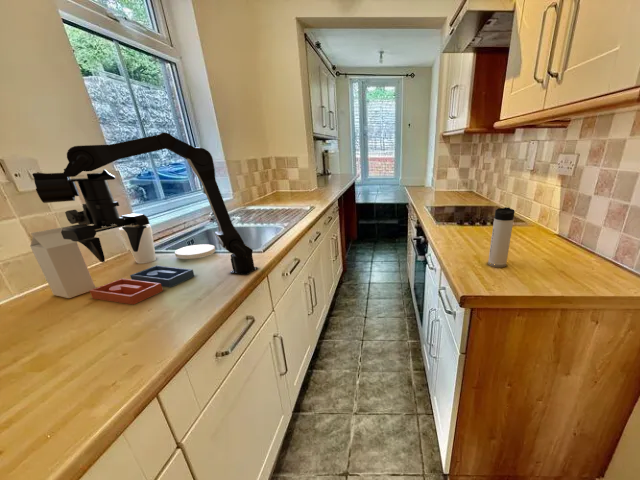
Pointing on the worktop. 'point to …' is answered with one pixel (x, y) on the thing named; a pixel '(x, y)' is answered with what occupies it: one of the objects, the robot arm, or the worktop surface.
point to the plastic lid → (195, 251)
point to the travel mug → (501, 237)
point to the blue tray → (182, 276)
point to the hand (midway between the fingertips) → (120, 256)
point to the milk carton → (61, 263)
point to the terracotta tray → (147, 292)
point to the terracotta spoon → (125, 289)
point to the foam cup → (142, 245)
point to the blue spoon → (162, 274)
